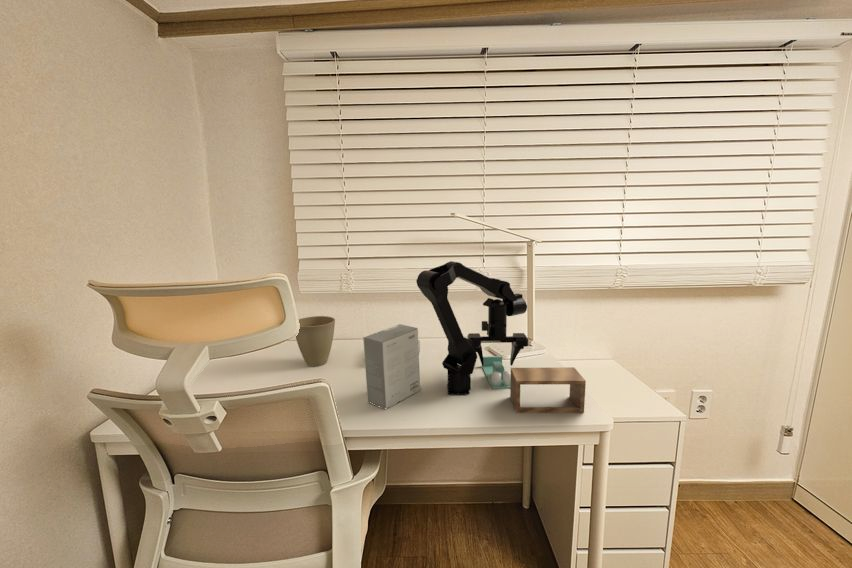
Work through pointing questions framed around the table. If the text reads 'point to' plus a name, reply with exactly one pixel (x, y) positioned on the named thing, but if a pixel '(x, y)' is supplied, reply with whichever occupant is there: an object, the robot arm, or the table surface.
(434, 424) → the table surface
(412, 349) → the hard drive box
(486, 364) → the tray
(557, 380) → the shelf
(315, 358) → the plant pot
